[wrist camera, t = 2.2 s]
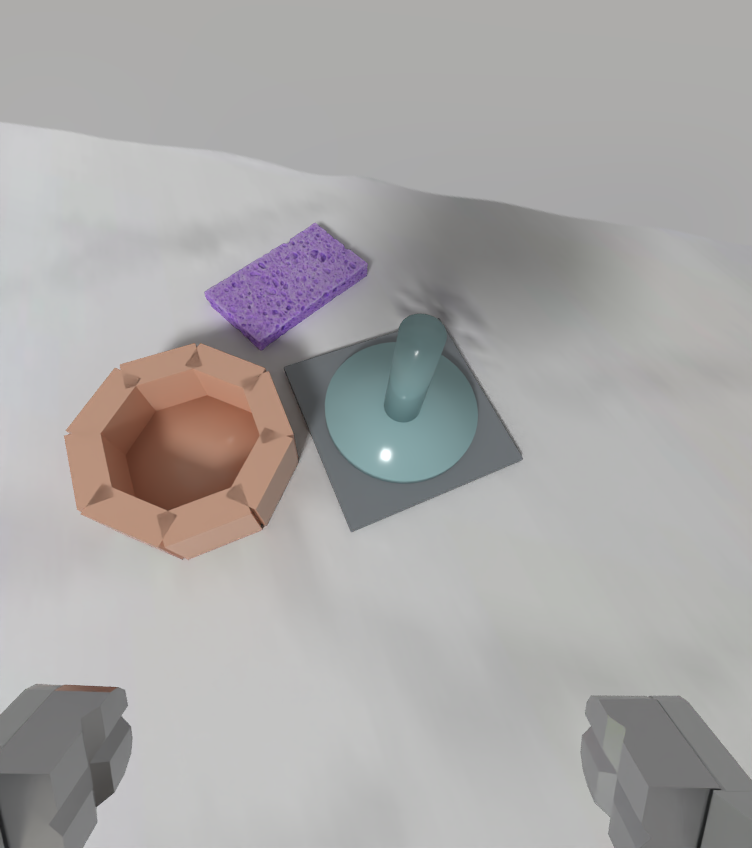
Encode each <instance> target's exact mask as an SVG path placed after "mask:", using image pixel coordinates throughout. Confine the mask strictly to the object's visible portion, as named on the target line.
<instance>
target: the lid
mask: <svg viewBox="0 0 752 848" xmlns="http://www.w3.org/2000/svg"><path fill="white" fill-rule="evenodd" d="M446 340H447V332H446V329H445V327H444V325H443V324H442V323H441V322H440V321H439V320H438V319H436V318H435V317H433V316H430V315H427V314H414V315H411V316H409V317H407V318H405V319H404V320H403V321H402V323H401V324H400V327H399V331H398V336H397V341H396V342H389V343H381V344H377V345H373V346H370V347H367V348H365V349H363V350H361V351H359V352H357V353H355V354H354V355H352V356H351V357H349V358H348V359H347V360H346V361H345V362H344V363H343V364H342V365H341V366H340V367H339V368H338V370H337V371H336V372H335V374H334V375H333V377H332V379H331V381H330V383H329V386H328V389H327V393H326V399H325V418H326V424H327V429H328V432H329V435H330V437H331V439H332V441H333V443H334V445H335V447H336V448H337V450H338V451H339V452H340V454H341V455H342V456H343V457H344V458H345V459H346V460H347V461H348V462H349V463H350V464H351V465H352V466H354V467H355V468H356V469H358V470H360V471H361V472H363V473H364V474H366V475H369V476H371V477H373V478H376V479H379V480H382V481H386V482H391V483H401V484H408V483H418V482H423V481H427V480H430V479H433V478H435V477H437V476H439V475H441V474H443V473H445V472H446V471H448V470H449V469H451V468H452V467H453V466H454V465H455V464H456V463H457V462H458V461H459V460H460V459H461V457H462V456H463V455H464V454H465V452H466V451H467V449H468V448H469V446H470V444H471V442H472V440H473V438H474V435H475V432H476V428H477V422H478V407H477V402H476V398H475V395H474V392H473V389H472V387H471V385H470V383H469V382H468V380H467V379H466V377H465V376H464V374H463V373H462V372H461V371H460V370H459V368H458V367H457V366H455V365H454V364H453V363H452V362H451V361H450V360H448V359H447V358H446V357H444V356H443V355H441V354H442V351H443V348H444V346H445V343H446Z"/></svg>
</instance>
